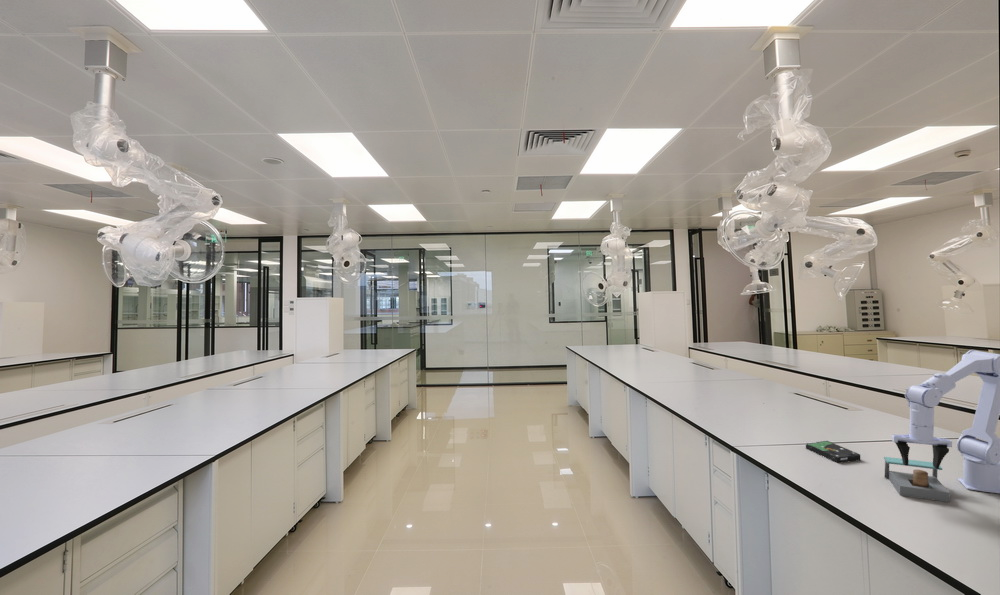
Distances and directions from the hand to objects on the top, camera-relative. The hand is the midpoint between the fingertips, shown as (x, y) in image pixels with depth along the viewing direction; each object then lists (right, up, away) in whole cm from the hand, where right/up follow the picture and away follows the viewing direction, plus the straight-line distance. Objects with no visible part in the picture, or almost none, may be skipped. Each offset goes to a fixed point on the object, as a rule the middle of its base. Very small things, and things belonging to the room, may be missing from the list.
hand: (920, 466), depth 152 cm
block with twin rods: (+4, -8, +7) cm, 12 cm away
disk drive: (-5, -8, +33) cm, 34 cm away
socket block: (+1, -9, +2) cm, 9 cm away
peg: (0, -9, 0) cm, 9 cm away
